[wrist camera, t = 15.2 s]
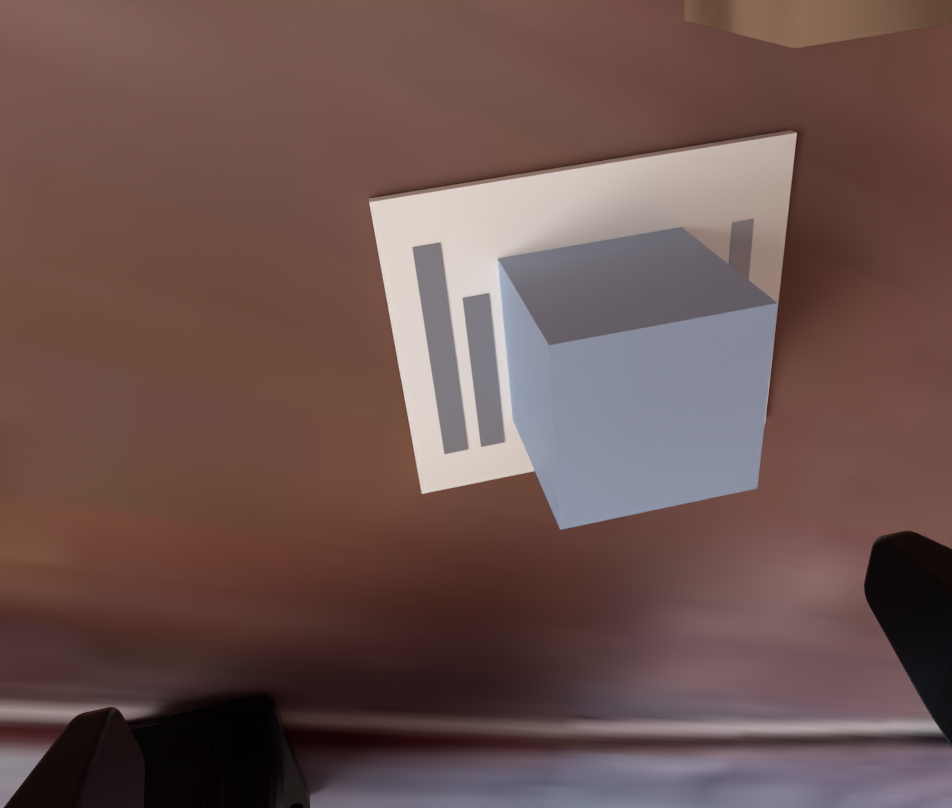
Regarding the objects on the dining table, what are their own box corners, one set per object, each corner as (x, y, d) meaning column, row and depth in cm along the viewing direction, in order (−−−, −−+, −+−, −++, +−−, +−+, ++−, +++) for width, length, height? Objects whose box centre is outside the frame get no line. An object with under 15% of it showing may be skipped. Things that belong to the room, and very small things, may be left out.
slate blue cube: (681, 226, 21) (777, 303, 17) (675, 388, 24) (757, 488, 19) (497, 258, 20) (548, 345, 16) (512, 419, 23) (560, 529, 19)
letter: (760, 419, 25) (765, 424, 25) (420, 487, 24) (422, 494, 24) (790, 130, 20) (797, 132, 20) (368, 198, 19) (369, 202, 19)
